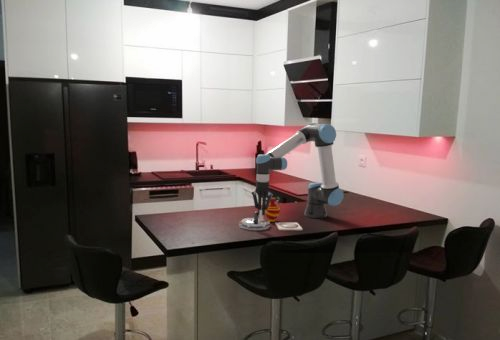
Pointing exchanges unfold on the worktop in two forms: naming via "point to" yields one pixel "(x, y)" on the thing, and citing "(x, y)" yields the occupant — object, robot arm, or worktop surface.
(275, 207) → the potion bottle
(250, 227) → the sprocket base
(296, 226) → the seat
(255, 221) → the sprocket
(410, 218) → the worktop surface
